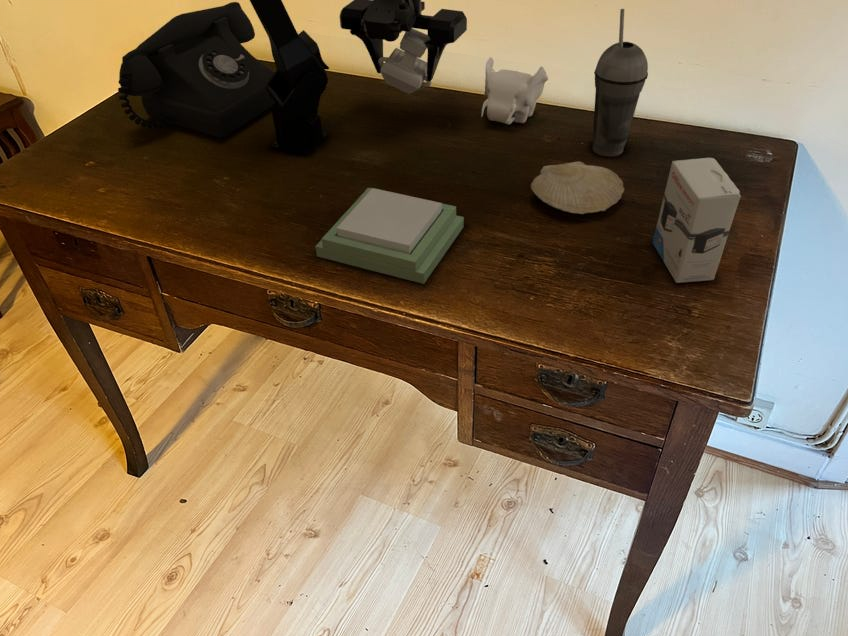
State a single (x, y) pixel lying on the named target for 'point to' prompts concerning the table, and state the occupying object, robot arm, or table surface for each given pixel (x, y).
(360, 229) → the square push button
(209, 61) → the rotary telephone
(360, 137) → the table surface
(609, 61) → the beverage cup
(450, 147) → the table surface
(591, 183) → the seashell
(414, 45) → the grey blocky piece
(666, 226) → the ink box
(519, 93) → the elephant figurine
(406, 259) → the scale
